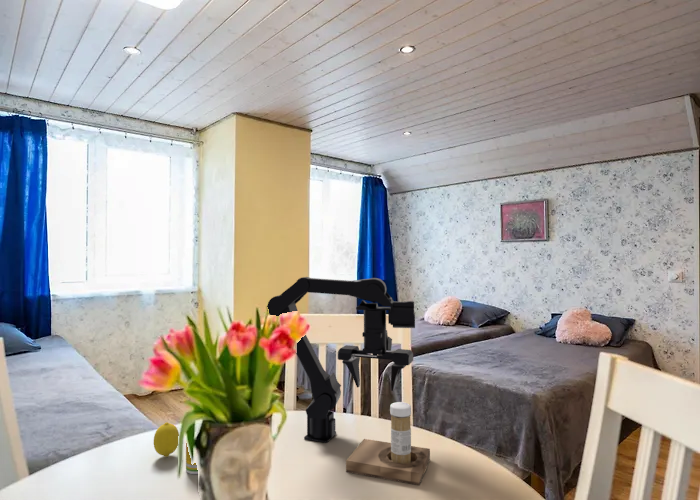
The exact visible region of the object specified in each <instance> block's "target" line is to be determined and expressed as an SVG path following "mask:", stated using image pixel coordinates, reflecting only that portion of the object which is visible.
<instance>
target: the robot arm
mask: <svg viewBox="0 0 700 500" xmlns="http://www.w3.org/2000/svg"><path fill="white" fill-rule="evenodd" d="M387 289H388V288H387V285H386V282H384V281H383V280H382V279H381V278H377V277H371V278H363V279H356V280H346V279H345V280H343V279H342V280H341V279H329V278H315V277H308V276H303V277H299V278H298V279H296V281H295V282H294V283H293V284H291V286H290V287H288V288H287V289H285V290H284V291H283V292H282V293H280V294H279V295H275V296H273V297H271V298H269V301H267V302H268V303H267V306H266V308H267V307H268V309H269V313H268V315H269V316H270V315H276V316H279V315H280V314H282V313H287V312H292V311H298V308H297V305H296V304H298V302H300V301H301V300H302V299H303V298H304V296H306V294H307V293H313V294H325V295H326V294H327V295H339V296H350V297H354V298H357V299H360V300H361V302H360V304H358V305H357V306H356V308H355V310H356V311H363V332H362V334H361V335H362V337H363V348H362V349H360V348H359V346H358V345H344V346H342V347H340V348H339V349H338V350H337V360H339V361H342V364H343V365H346V368H347V369H348V370H349V373H350V374H351V377H352V379H353V380H354V384H355V386H356V388H360V386H361V385H360V384H361V378H360V377H361V375H360V360H361V358H365V359H374V360H375V359H378V360H387V361H388V360H390V361H392V362H393V364H392V365H391V372H390V375H391V376H390V378H391V379H390V389H391V390H390V391H392V392H394V390H395V387H396V385H397V381H398V378H399V376H400V374H401V371H402V369H405V368H406V367H407V366H410V364H412V362H414V352H413V351H412V350H411V349H402V348H397V349H396V350H395V351H392V346H393V345H392V343H393V338H392V337H390V336H388V330H387V320H388V324H389V325H391V326H392V329H393V328H394V329H415V328H416V312H415V301H414V300H408V301H394V299H393V297H391V295H390V294H389V293H388V292H387ZM366 301H367V302H366ZM368 302H369V303H368ZM378 304H380V305H381V306H379V305H378ZM387 311H388V317H387ZM298 312H299V311H298ZM387 318H388V319H387ZM295 354H296V356H297V358H298V360H299V362H300V364H301V366H302V367H303V370H304V372H305V373H306V376H307V377H308V379H309V385H310V391H311V395H312V398H313V399H312V401H311V402H310V404H309V405H308V406H307V408H305V413H306V434H305V436H304V437H303V438H304V440H308V441H314V442H319V443H328V442H329V441H330V440H332V439H333V438H334V436H335V435H336V434H337V431H336V418H335V417H334V415H335V414H334V411H332V410H333V409H334V408H335V407H336V406H337V404H338V402H339V401H340V398H341V394H342V392H341V391H342V390H341V387H342V385H341V383H339V381H338V379H337V377H336V374H335V372H332V373H331V374H329V373H328V372H327V371H326V370H325V369H324V367H323V365H322V364H321V362H320V359H319V357H318V356H317V355H318V354H316V351H315V350H314V348H313V346H312V344H311V342H310V340H309V338H308V336H307V335H305V336H304V337H302V338H301V340H300V341H299V342H298V343H297V353H296V352H295Z"/></svg>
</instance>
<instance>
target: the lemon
mask: <svg viewBox="0 0 700 500" xmlns="http://www.w3.org/2000/svg"><path fill="white" fill-rule="evenodd" d="M178 436H179V437H180V432H179V430H178V427H177V426H176V425H174V424H172V423H169V422H168V421H167V422H164V424H161V425H160V426H159V427H158V428H157V429H156V430H155V433H154V437H153V447H154V450H155V451H156V453H157V454H158V455H160V456H163V457H165V458H168V457H169V456H170V455H171V454H173V453H174V452H175V451H176V450H177V448H178V447H179V444H178ZM177 446H178V447H177Z"/></svg>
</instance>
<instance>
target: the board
mask: <svg viewBox="0 0 700 500" xmlns="http://www.w3.org/2000/svg"><path fill="white" fill-rule="evenodd" d="M391 458H392V457H391V442H387V441H381V440H374V439H369V438H368V439H367V438H364V439H362V440H361V442H360V443H359V444H358V445H357V447H356V448H355V449H354V450H353V451H352V452H351V454H350V455H349V456H348V457H347V459H346V460H345V472H346V473H350V474H355V475H359V476H366V477H367V476H368V477H372V478H377V479H383V480H388V481H392V482H393V481H394V482H397V483H398V482H400V483H405V484H409V485H415V486H420V485H421V482H422V479H423V478H424V475H425V473H426V471H427V468H428V466H429V463H430V461H431V448H427V447H421V446H414V445H411V463H405V464H401V463H395V462H393V461H391Z"/></svg>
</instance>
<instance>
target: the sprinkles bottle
mask: <svg viewBox="0 0 700 500" xmlns="http://www.w3.org/2000/svg"><path fill="white" fill-rule="evenodd" d="M389 411H390V412H389V413H390V416H391V417H390V443H391V457H392V458H391V461H393V462H395V463H401V464H405V463H411V446H412V428H411V416H412V415H411V414H412V406H411V404H410V403H408V402H404V401H397V402H396V401H395V402H393V403H391V404H390V407H389Z"/></svg>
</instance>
